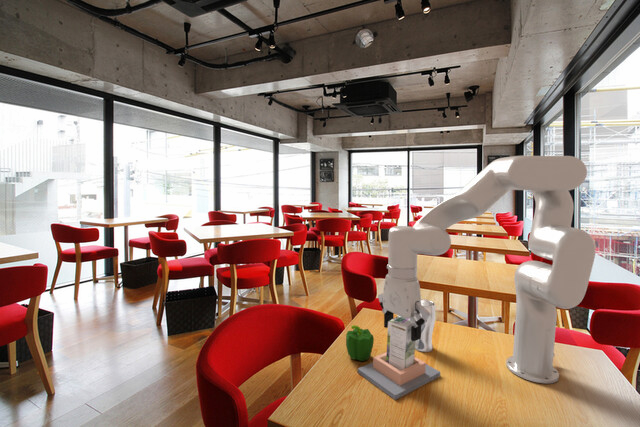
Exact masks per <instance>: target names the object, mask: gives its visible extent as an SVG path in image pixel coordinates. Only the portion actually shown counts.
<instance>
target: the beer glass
mask: <svg viewBox="0 0 640 427" xmlns="http://www.w3.org/2000/svg"><path fill="white" fill-rule="evenodd" d="M421 305H422V306H423V307H424V308H425V309H426V310H427V311H428V312H429V313H430V316H429V318H428V319H427V322H425V323H424V324H423V325H421V338H420V339H418V340H416V341H415V351H418V352H422V353H430V352H432V351H433V350H434V349H433V348H434V347H433V342H432V337H433V332H434V329H435V328H434V327H435V323H436V303H435V302H434V301H432V300H429V299H424V298H422V299H421ZM421 316H422V314H421V313H420V317H421ZM414 318H415V320H416V321H417V319H416V317H414Z"/></svg>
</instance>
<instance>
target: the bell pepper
mask: <svg viewBox="0 0 640 427" xmlns="http://www.w3.org/2000/svg"><path fill="white" fill-rule="evenodd" d="M351 329H352V330H348V331H347V332H346V334H345V346H346V350H347V355H348V356H349V357H350V358H351V360H355V361H356V360H358V361H360V362H364V361H368V359H369V358H370V357H371V354H372V350H373V347H374V341H375V337H374V335H373V334H372V333H371V331H370V329H368V328H365V329H362V328H361V327H359V326H358V325H356V324H355V325H351Z"/></svg>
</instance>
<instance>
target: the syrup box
mask: <svg viewBox="0 0 640 427" xmlns="http://www.w3.org/2000/svg"><path fill="white" fill-rule="evenodd" d="M412 326H413V324H412V322H411V320H410V318H409V319H407V318H404V317H401V316H399V315H397V316H395V317H394V318H393V319H392V320H390V321H388V328H387V336H386V337H387V338H386V352H387V356H386V362H387V363H388V364H390V365H392V366H393V367H395V368H396V369H398V370H400V371H401V370H403V369H405V368H407V367H410V366H412V365H414V357H415V355H416V354H415V353H416V349H415V341H412V340H411V327H412Z"/></svg>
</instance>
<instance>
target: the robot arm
mask: <svg viewBox="0 0 640 427" xmlns="http://www.w3.org/2000/svg"><path fill="white" fill-rule="evenodd" d="M587 175H588V168H587V165H586V164H585V163H584V162H583V160H581V159H580V158H578V157H577V156H576V157H575V156H572V155H514V156H506V157H500V158H499V157H498V158H497V159H494V160H493V161H491V162H490V163H489V164H488V165H487V166H485V167H484V168H483V169H482V170H481V171H480V172H479V173H478V174H477V175H475V177H474V178H472V179H471V180H470V181H469V182H467V184H466V185H465V186H463V187H462V188H461V189H460V190H458V192H456V193H455V194H453V195H451V196H449V197H448V198H447V199H445V200H443V201H442V202H441V203H439V204H437V205H435V206H434V207H432V208H431V209H430V210H428V212H426V213H425V214H424V215H423V216H422V217H421V218H420V219H418V220H417V221H416V222H415V223H414V225H412V226H408V225H407V226H406V225H397V226H391V227H390V229H389V230H388V257H387V258H388V262H387V263H388V264H387V265H386V269H387V270H388V273H387V274H386V275H385V278H384V283H383V289H382V290H383V293H381V294H378V295H377V297H378V301H379V306H380V307H381V309H382V310H381V312H382V313H383V314H384V315H383V327H384V328H385V329H388V321H390V320H392V319H393V318H395V317H394V316H395V315H397V316H401V317H404V318H407V319H410V320H411V322H412V324H413V326H412V327H411V340H412V341H416V340H418V339H420V338H421V325H423V324H424V323H425V322H427V319H428V318H429V316H430V313H429V312H428V311H427V310H426V309H425V308H424V307H423V306H422V305H421V298H422V297H421V296H422V295H421V287H420V281H419V278H418V254H419V255H425V256H440V255H441V256H442V255H443V254H446V252H448V250H449V249H450V248H451V245H452V244H451V243H452V240H451V236H450V234H449V233H448V232H447V231H446V230H447V229H448V228H450V227H451V226H453V225H455V224H458V223H460V222H463V221H467V220H471V219H475V218H477V217H480V216H482V215H484V214H485V213H486V212H487V211H488V210H490V209H491V207H492V206H493V205H494V204H496V203H497V202H498V201H499V200H500V199H501V198H502V197H504V196H505V195H506V194H507V193H508V192H509V191H511V190H512V191H530V192H531V194H532V195H533V198H534V201H535V208H534V215H533V219H532V224H531V227H530V233H529V236H528V237H529V238H528V241H527V242H528V249H529V250H530V251H531V253H532V254H534V255H536V256H538V257H540V258H544V259H546V260H549V261H552V264H549V263H546V262H543V261H538V260H527V261H524V262H522V263H521V264H519V265H518V267H517V268H516V269H515V272H514V277H513V278H514V281H513V282H514V287H515V293H516V294H515V297H516V307H515V322H514V334H513V336H514V337H513V349H512V356H509V357H508V358H506V362H505V364H506V365H505V366H506V368H508V370H509V371H510V372H512V374H514V375H516V376H518V377H520V378H522V379H524V380H527V381H530V382H533V383H538V384H554V383H556V382H558V381H559V377H560V373H559V371H558V370H557V369H556V368H555V367H554V365H553V364H554V357H555V340H556V339H555V338H556V327H557V317H558V314H557V308H559V309H564V310H567V309H573V308H574V307H577V306H578V305H579V304H580V303H582V301H583V299H584V297H585V295H586V293H587V290H588V286H589V282H590V278H591V273H592V270H593V265H594V261H595V259H596V258H595V257H596V244H595V242H594V238H593V237H592V236H591V235H590V234H589V233H588V232H587V231H585V230H583V229H580V228H577V227H572V222H573V215H574V209H575V208H574V206H575V204H574V200H573V197H572V195H571V193H570V191H572V190H575V189H577V188H579V187H580V186H581V185H582V184H583V183H584V182H585V180H586V178H587ZM556 307H557V308H556ZM420 313H421V314H422V316H421V317H420ZM414 317H416V319H417V321H416V320H415V318H414Z"/></svg>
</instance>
